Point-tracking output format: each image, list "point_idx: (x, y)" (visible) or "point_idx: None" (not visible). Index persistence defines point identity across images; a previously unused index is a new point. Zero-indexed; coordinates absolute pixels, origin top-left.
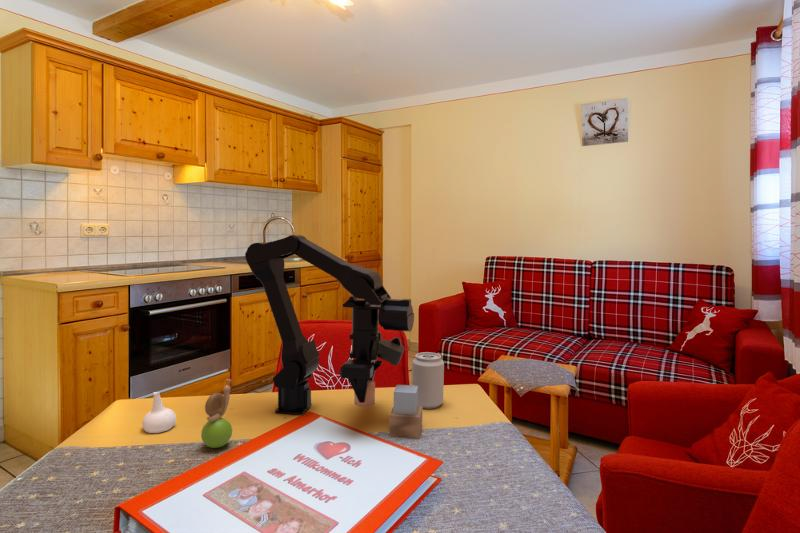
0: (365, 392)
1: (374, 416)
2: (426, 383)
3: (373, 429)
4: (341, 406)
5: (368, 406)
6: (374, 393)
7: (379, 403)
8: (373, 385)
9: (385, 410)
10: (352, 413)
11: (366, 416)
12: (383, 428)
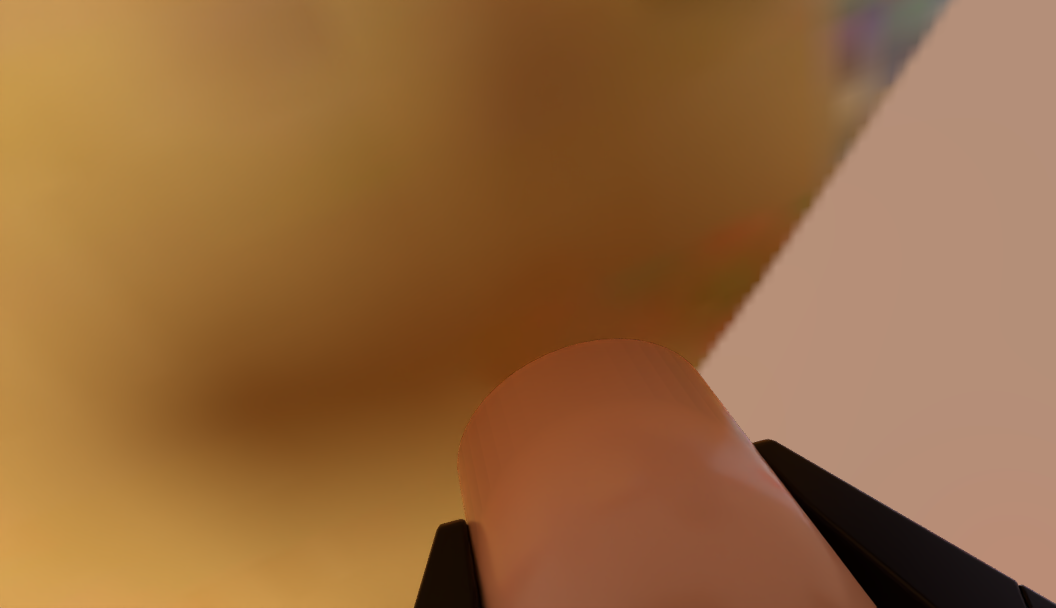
0: (945, 541)
1: (468, 271)
2: None
3: (787, 152)
4: (360, 586)
5: (692, 366)
6: (657, 456)
7: (46, 379)
8: (803, 604)
9: (229, 228)
10: None
11: (496, 338)
12: (758, 56)
